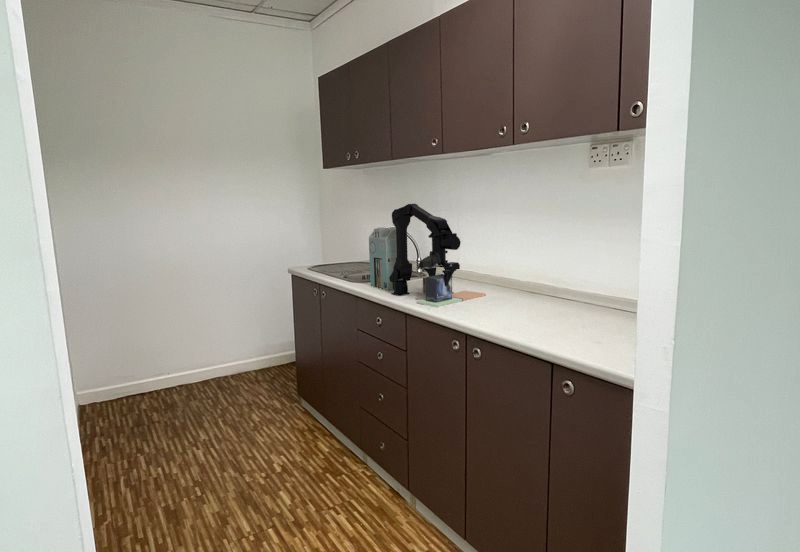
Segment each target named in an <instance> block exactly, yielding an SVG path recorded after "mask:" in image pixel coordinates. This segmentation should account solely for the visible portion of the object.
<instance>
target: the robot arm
mask: <svg viewBox="0 0 800 552" xmlns="http://www.w3.org/2000/svg"><path fill="white" fill-rule="evenodd" d="M412 217H415V218H416V219H417V220H419V221H421V222H423V224H425V225H426V228H427V229H428V230H429V232H430V234H429V235H428V239H431V251H429V255H427V256H425V257H424V258H423V259H421V260H420V261H419V263H418V264H419V268H422V270H423V271H425V272H426V273H427V275H428V276H434V275H437V268H443V269H444V270H443V269H442V270H441V271H442V274H444V282H445V286H447V285H448V283H449V281H450V278H451V276H452V277H453V274H454V273H455V272H456V271H457V270H460V269H461V267H460V266H461V264H460V263H459V262H458V261H457V262H456V261H449V260H448V259H446V258H447V254H448V250H451V251H455V250H456V251H457V250H459V249H460V246H461V239H460V238H459V237H458V235H457V234H458V233H456V232H454V233H453V231H452V229H451V227H450V224H448V221H447V219H446V218H443V217H441V216H436V215H433V214H431V213H430V212H428V211H427V210H425V209H424V208H422V207H420V206H419V205H418V203H417V204H416V203H407V204H405V206H402V207H399V208H396V209H394V210H393V211H392V213H391V220H392V221H391V222H392V224H393V226H394V228H396V244H397V260H396V262H395V264H394V269H393V272H392V274H391V275H390V277H389V279H390V282H393V288H394V290H393V292H391V293H390V294H391V295H395V296H405V295H409V294H411V293H410V292H409V289H408V281H411V279H412V274H413V272H414V271H413V264H412V262H411V263H410V261H409V259H408V257H409V256H408V227H409V225H410V224H411V218H412Z"/></svg>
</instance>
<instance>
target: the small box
mask: <svg viewBox="0 0 800 552" xmlns="http://www.w3.org/2000/svg"><path fill="white" fill-rule="evenodd" d="M425 277H426V293H425V299H426V301H431V302H441V301H445V300H450V299H452V292H453V275H452V276H451V278H450V281H449V283H448V285H447V286H445V282H444V273H441V274H436V275H434V276H429V275H428V276H425Z"/></svg>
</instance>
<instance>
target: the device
mask: <svg viewBox="0 0 800 552" xmlns="http://www.w3.org/2000/svg"><path fill="white" fill-rule="evenodd" d="M368 236H369V237H368V251H369V252H368V255H369V257H368V259H369V275H370V277H369V280H370V284H369V285H370V287H372V286H373V288H376V287H378V288H377V289H380V288H381V289H380V290H385V291H387V292H389V291H394V288H393V282H390V279H389V277H390V275H391V274H392V272H393V269H394V264H395V262H396V260H397V244H396V228H395V227H375V228H373V231H372V232H371V234H370V235H368Z"/></svg>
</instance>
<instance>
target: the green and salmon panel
mask: <svg viewBox="0 0 800 552" xmlns="http://www.w3.org/2000/svg"><path fill="white" fill-rule="evenodd" d="M485 296H486V293H484V292H478V291H472V290H461V291H457V292H454V293H452V299H450V300H445V301H441V302H431V301H426V298H425V299H420V300H416V304H417V303H418V304H419V305H424V306H428V305H429V307H435V308H438V307H439V308H440V307H443V306H448V305H452V304H456V303H460V302H464V301H465V302H466V301H468V300H473V299H477V298H481V297H485Z"/></svg>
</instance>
